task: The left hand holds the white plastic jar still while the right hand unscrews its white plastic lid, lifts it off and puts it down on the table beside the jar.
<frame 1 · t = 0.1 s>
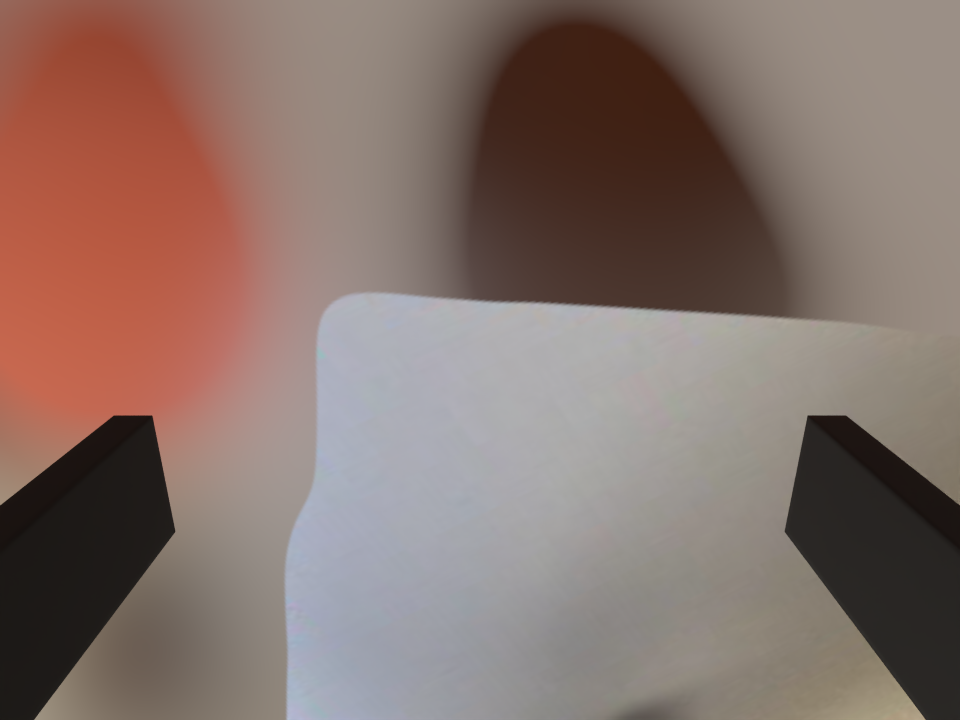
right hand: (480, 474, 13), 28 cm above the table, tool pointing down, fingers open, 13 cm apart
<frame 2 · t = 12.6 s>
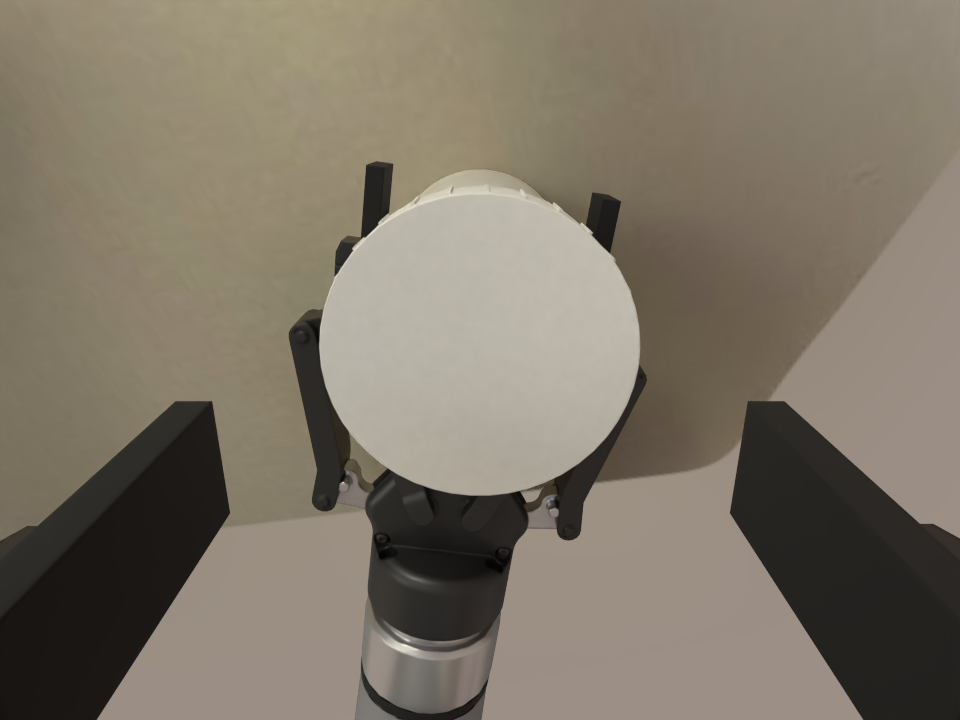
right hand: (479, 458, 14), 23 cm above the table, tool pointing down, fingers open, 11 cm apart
left hand: (494, 180, 27), fingers closed on jar, 9 cm apart
jar: (479, 255, 35), on the table, touching left hand
lid: (479, 354, 20), point 16 cm above the table, screwed on, not yet turned
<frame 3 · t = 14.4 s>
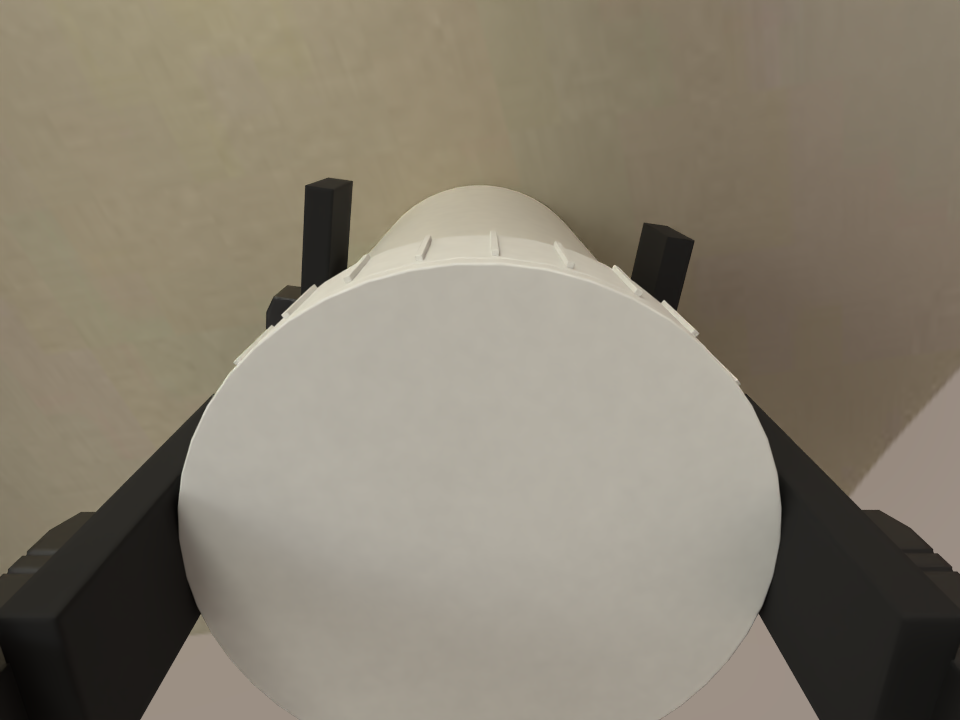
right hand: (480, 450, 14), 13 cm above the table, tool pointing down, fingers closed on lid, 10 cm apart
jar: (479, 299, 26), on the table, touching left hand
lid: (479, 545, 11), point 16 cm above the table, screwed on, not yet turned, touching right hand
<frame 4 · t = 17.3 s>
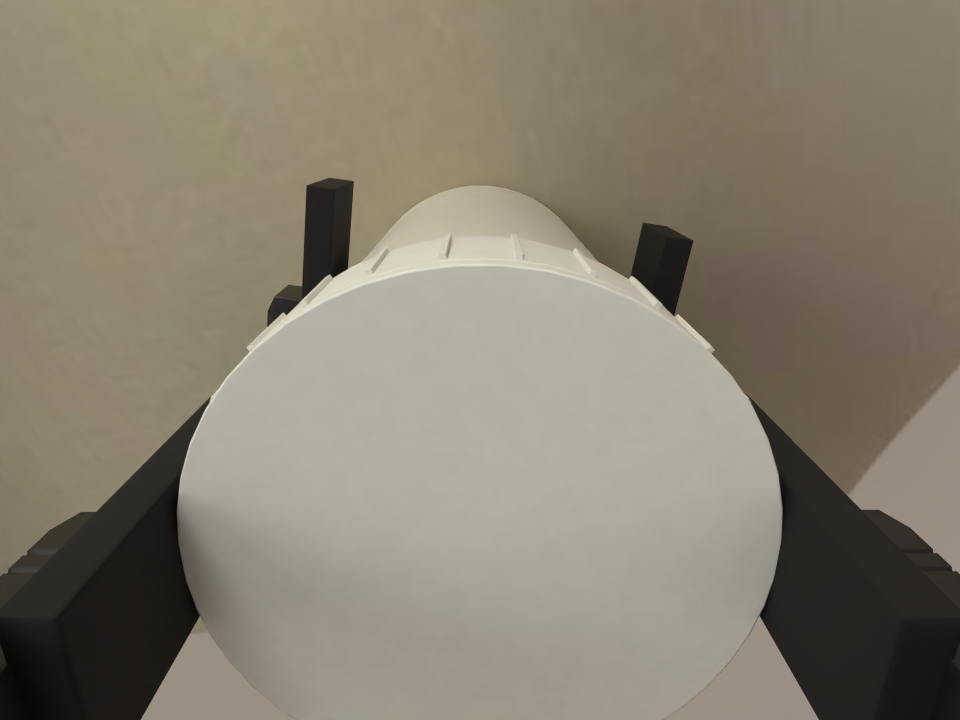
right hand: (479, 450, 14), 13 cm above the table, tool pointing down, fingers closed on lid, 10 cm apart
jar: (479, 299, 26), on the table, touching left hand
lid: (479, 547, 11), point 16 cm above the table, turned 60° so far, risen 0.1 cm, still on its thread, touching right hand
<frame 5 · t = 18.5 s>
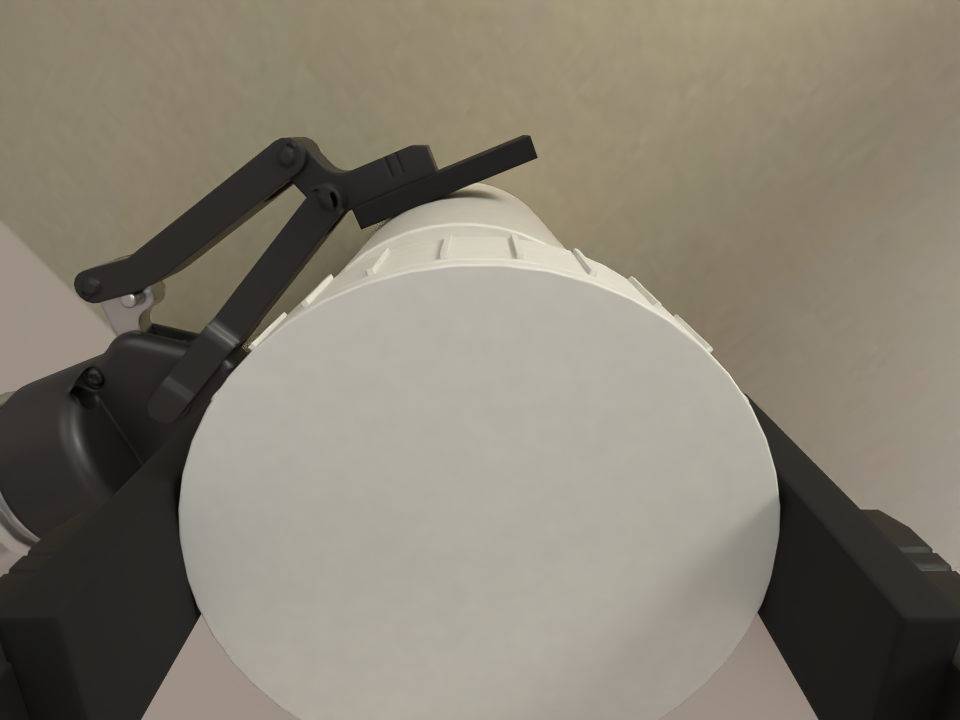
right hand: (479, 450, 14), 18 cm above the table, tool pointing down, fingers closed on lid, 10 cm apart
left hand: (573, 273, 24), fingers closed on jar, 9 cm apart
jar: (463, 279, 30), on the table, touching left hand
lid: (479, 545, 11), point 21 cm above the table, off its thread, touching right hand
when the right hand's fingers open (0 cm above the table, at t = 23.6 s): lid drops 2 cm, point 2 cm above the table.
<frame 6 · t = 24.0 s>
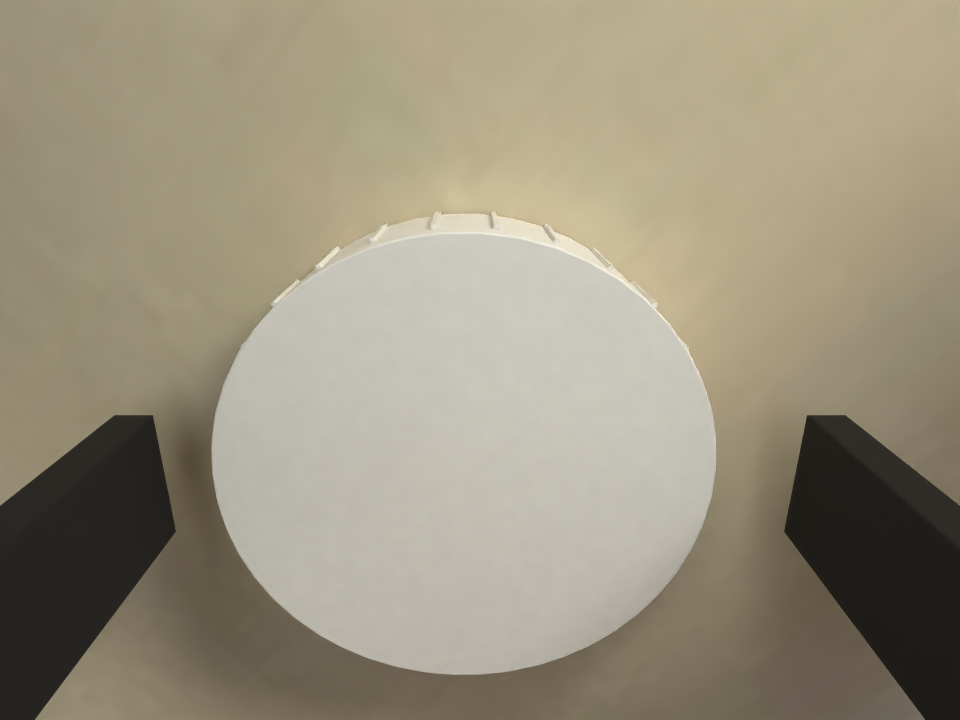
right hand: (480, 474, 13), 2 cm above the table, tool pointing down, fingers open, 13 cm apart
lid: (465, 475, 13), point 2 cm above the table, off its thread
when the left hand's fingers open (6 cm above the table, at t = 24.7 s): jar stays where it is, on the table.
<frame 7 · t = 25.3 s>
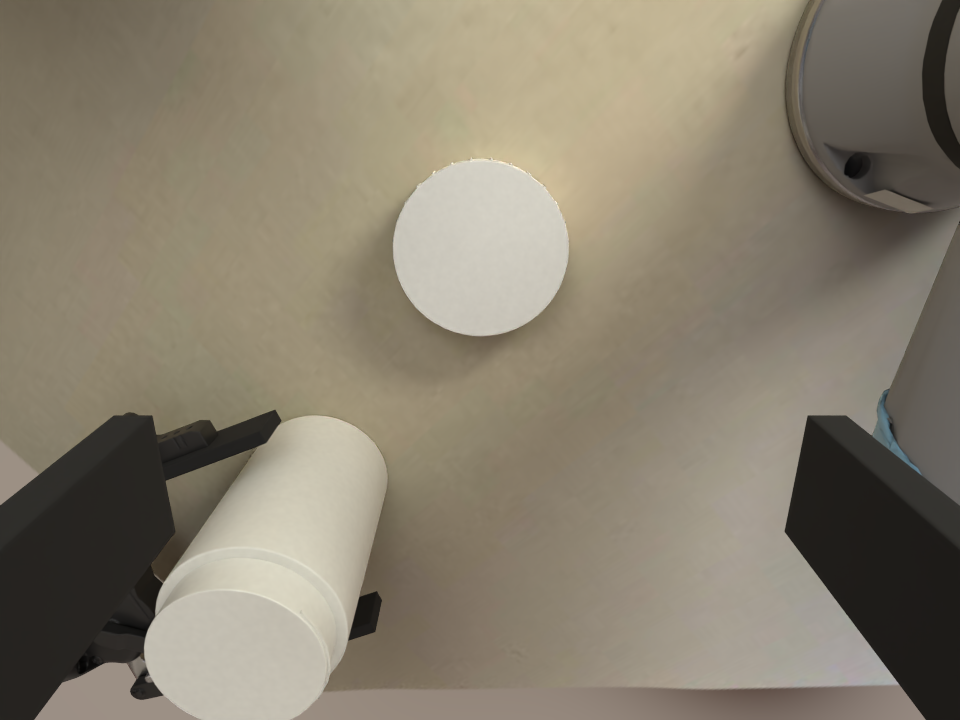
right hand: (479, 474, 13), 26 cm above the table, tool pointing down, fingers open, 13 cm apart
jar: (321, 475, 43), on the table
lid: (480, 251, 36), point 2 cm above the table, off its thread
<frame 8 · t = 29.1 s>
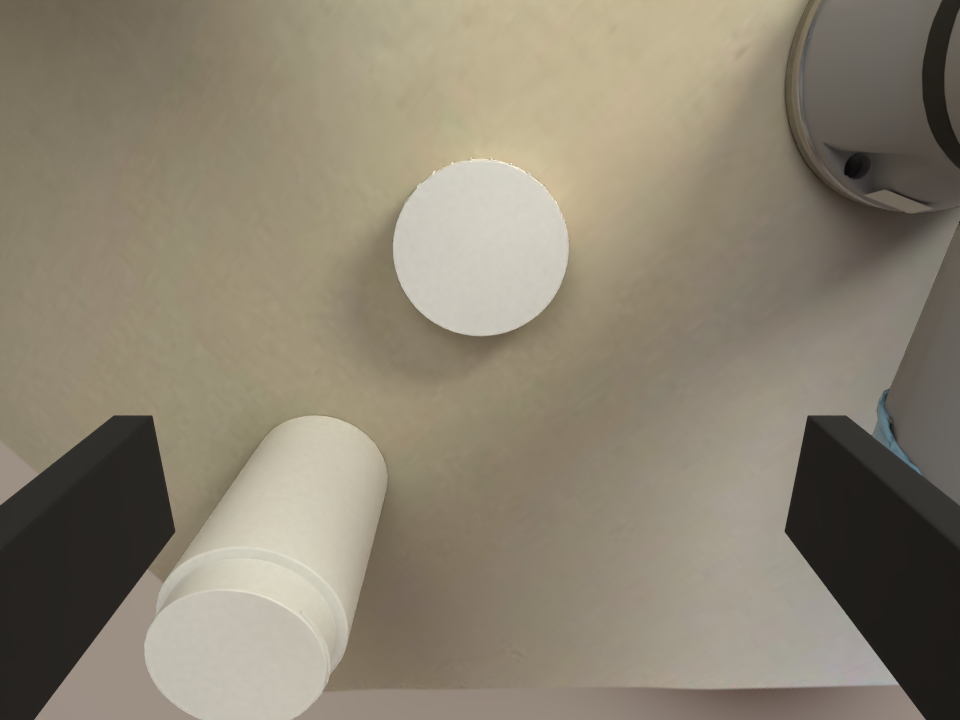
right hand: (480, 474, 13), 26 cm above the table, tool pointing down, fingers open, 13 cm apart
jar: (321, 475, 43), on the table
lid: (480, 251, 36), point 2 cm above the table, off its thread
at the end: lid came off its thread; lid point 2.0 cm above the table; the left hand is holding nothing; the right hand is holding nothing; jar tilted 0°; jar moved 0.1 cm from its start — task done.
